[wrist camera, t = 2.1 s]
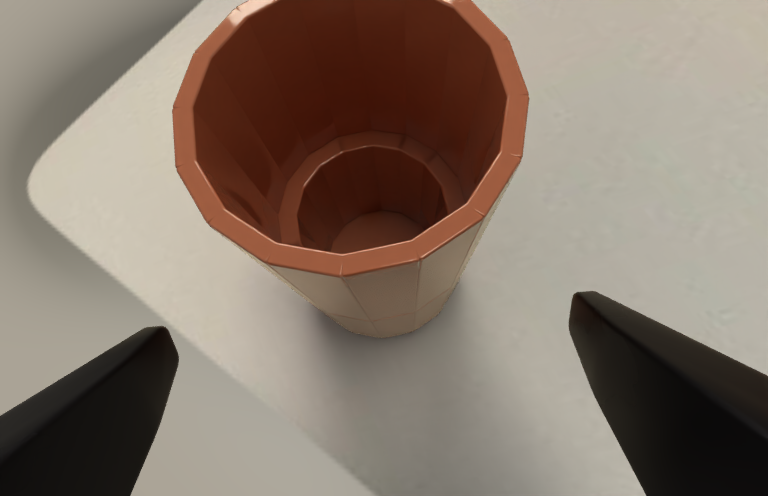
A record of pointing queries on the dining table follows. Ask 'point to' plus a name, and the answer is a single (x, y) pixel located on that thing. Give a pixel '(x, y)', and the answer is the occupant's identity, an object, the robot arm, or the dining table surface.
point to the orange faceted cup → (354, 147)
